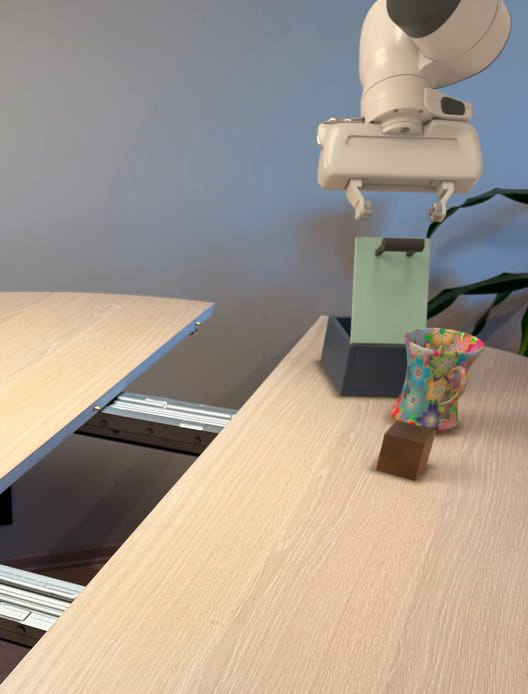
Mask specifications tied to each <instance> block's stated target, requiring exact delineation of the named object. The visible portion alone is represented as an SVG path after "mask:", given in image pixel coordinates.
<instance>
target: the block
mask: <svg viewBox="0 0 528 694" xmlns="http://www.w3.org/2000/svg"><path fill="white" fill-rule="evenodd" d="M436 432H437V431H436V430H434V429H430V428H426V427H422V426H418V425H414V424H410V423H406V422H402V421H398V420H395V421H394V423H393V424H392V425H391V426H390V427H389V428H388V429H387V430H386V431H385V433H383V439H382V442H381V447H380V451H379V454H378V460H377V463H376V468H375V471H378V472H382V473H385V474H389V475H393V476H397V477H401V478H404V479H408V480H411V481H416V480H417V478H418V477H419V476H420V475H421V474H422V472H423V471H424V470H425V469H426V467H427V466H428V462H429V458H430V454H431V450H432V448H433V443H434V440H435V437H436Z"/></svg>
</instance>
